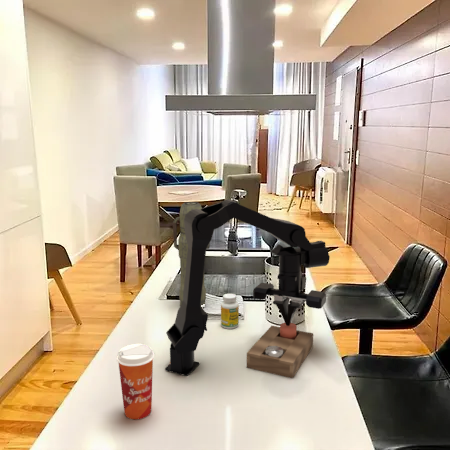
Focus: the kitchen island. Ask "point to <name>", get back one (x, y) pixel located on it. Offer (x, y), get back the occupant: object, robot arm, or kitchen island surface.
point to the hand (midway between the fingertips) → (288, 325)
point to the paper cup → (136, 379)
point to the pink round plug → (288, 331)
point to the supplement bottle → (229, 311)
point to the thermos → (185, 246)
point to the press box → (292, 348)
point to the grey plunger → (274, 351)
